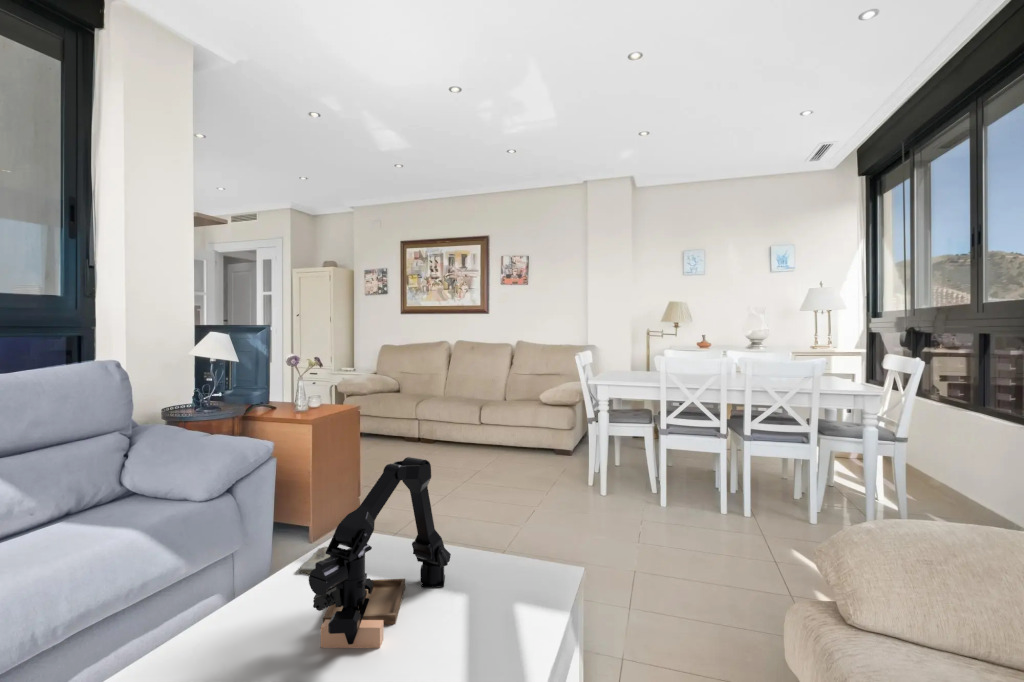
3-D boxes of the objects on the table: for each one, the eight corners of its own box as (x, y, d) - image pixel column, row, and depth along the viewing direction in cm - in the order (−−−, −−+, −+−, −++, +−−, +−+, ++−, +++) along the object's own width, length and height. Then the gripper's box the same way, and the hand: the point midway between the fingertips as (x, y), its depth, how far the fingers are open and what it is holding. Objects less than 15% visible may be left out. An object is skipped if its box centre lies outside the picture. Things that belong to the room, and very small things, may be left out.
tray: (405, 586, 142) (405, 578, 142) (395, 624, 124) (395, 614, 124) (341, 588, 140) (341, 580, 140) (322, 627, 122) (322, 617, 122)
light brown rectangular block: (383, 640, 117) (383, 620, 117) (380, 648, 114) (380, 627, 114) (325, 639, 118) (325, 619, 117) (320, 648, 115) (320, 627, 114)
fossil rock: (318, 552, 164) (318, 545, 164) (362, 553, 164) (362, 546, 164) (294, 578, 147) (294, 570, 147) (343, 579, 146) (343, 572, 146)
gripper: (329, 557, 124) (329, 617, 125) (304, 597, 106) (304, 668, 106) (373, 555, 125) (373, 615, 125) (356, 595, 107) (356, 665, 107)
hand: (352, 639), depth 116 cm, fingers closed on light brown rectangular block, 3 cm apart
